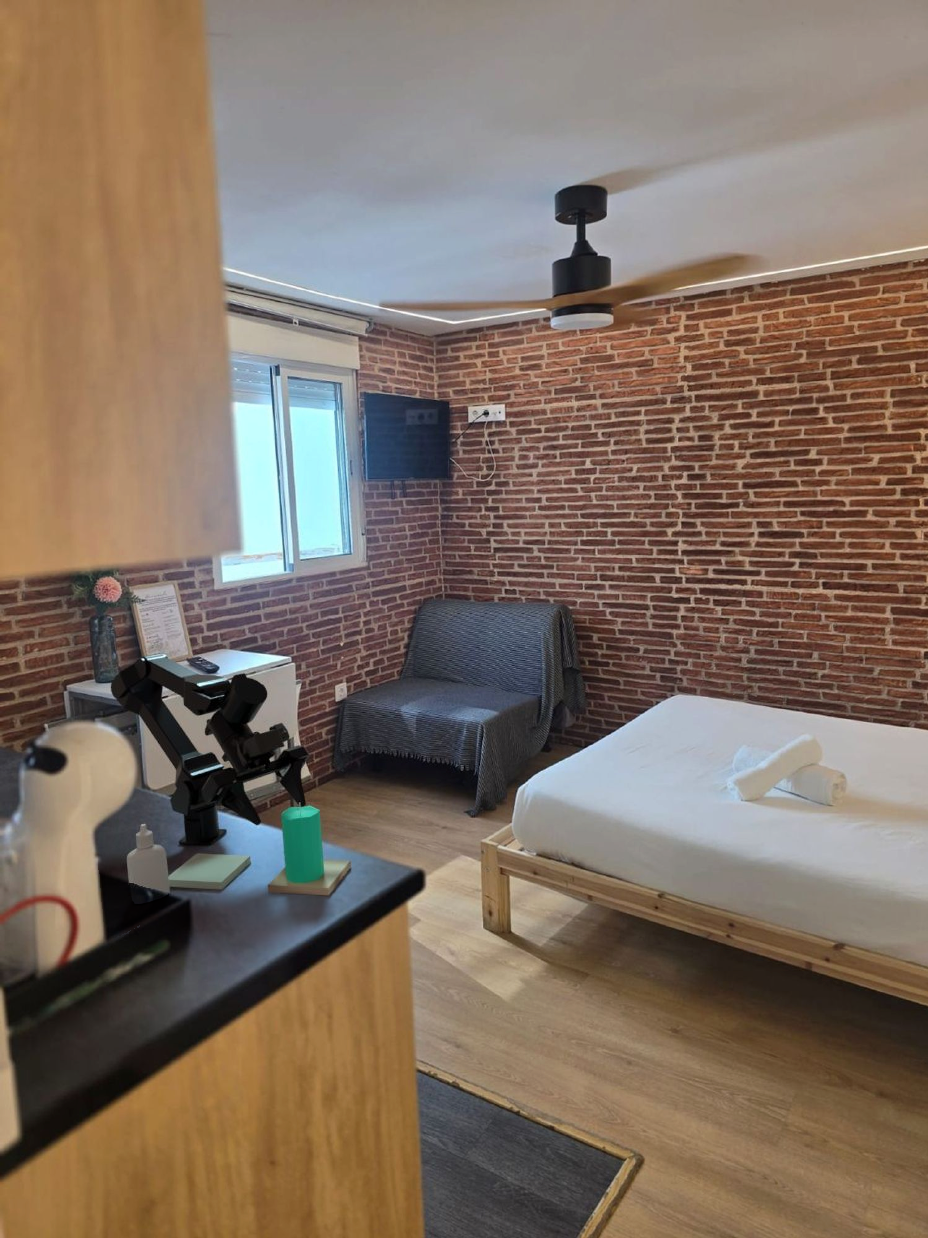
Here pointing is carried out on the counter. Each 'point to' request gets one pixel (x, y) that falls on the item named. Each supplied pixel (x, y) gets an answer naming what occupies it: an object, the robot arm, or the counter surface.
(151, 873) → the eye dropper bottle
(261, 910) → the counter surface
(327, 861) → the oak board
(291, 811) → the candle
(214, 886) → the sage tile
